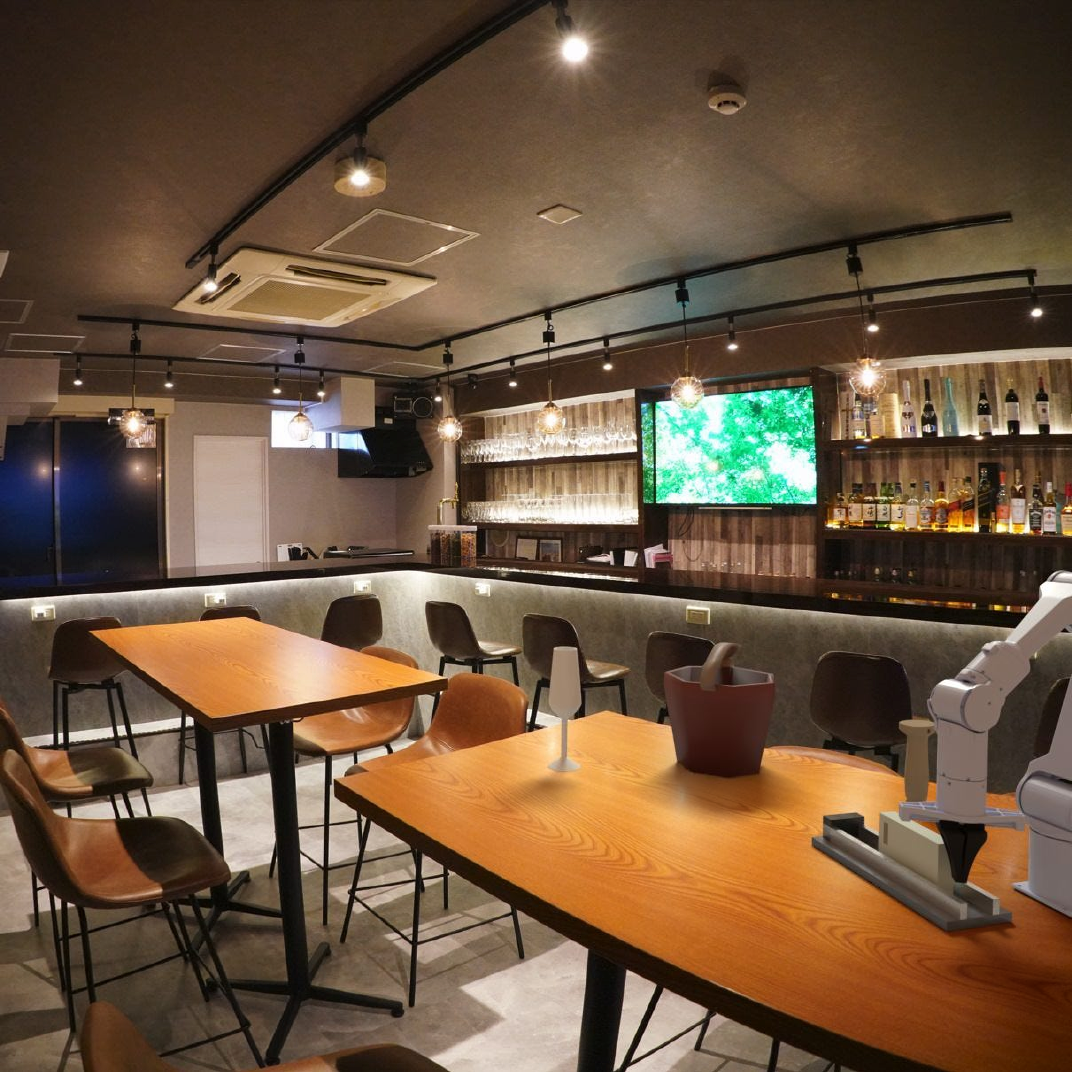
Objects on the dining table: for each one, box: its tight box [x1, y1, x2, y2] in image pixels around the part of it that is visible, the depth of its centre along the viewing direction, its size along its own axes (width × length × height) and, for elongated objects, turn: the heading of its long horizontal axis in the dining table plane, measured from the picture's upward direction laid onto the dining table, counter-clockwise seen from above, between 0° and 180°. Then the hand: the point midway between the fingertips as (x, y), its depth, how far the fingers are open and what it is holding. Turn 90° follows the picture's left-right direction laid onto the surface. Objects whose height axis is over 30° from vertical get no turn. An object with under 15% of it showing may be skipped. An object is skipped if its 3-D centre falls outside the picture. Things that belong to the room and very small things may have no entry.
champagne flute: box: [547, 646, 582, 772], centre depth 168 cm, size 7×7×24 cm
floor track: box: [811, 811, 1013, 932], centre depth 117 cm, size 28×10×4 cm, turn 16°
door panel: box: [878, 810, 954, 895], centre depth 115 cm, size 12×3×7 cm, turn 14°
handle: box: [898, 719, 936, 802], centre depth 146 cm, size 5×6×15 cm
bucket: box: [663, 642, 776, 779], centre depth 170 cm, size 24×22×25 cm
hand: (959, 879), depth 107 cm, fingers closed
